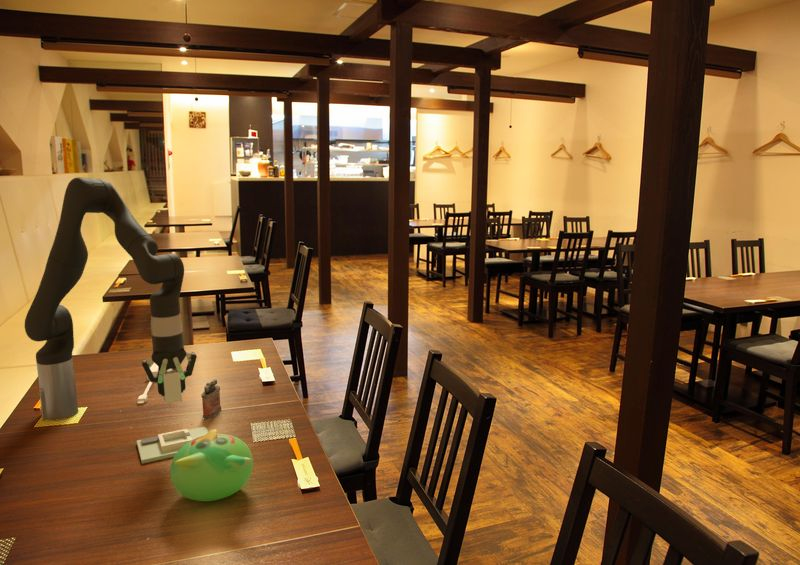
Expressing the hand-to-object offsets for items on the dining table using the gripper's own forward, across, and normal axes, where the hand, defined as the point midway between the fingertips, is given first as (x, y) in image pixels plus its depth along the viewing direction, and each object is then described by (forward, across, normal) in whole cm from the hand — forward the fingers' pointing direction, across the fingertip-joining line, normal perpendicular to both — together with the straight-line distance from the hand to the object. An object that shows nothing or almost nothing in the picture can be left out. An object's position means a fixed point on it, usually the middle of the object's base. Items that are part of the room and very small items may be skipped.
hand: (172, 393), depth 154 cm
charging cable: (+15, 0, -49) cm, 51 cm away
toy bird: (+15, -4, +29) cm, 33 cm away
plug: (+2, 0, 0) cm, 2 cm away
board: (+15, 0, 0) cm, 15 cm away
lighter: (+15, -13, -16) cm, 26 cm away
